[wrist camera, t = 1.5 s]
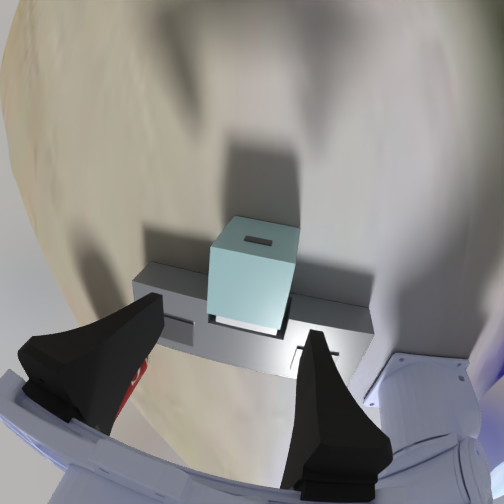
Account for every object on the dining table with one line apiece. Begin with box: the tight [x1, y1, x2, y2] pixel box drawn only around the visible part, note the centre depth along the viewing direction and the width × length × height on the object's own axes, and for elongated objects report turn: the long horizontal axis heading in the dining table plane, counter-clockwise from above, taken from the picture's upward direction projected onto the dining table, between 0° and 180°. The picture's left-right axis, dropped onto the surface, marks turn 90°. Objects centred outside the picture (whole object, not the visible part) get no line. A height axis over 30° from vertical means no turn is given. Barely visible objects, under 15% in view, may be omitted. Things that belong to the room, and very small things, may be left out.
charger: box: [207, 216, 300, 335], centre depth 19 cm, size 5×7×5 cm, turn 172°
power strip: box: [132, 262, 374, 387], centre depth 22 cm, size 18×6×4 cm, turn 82°
